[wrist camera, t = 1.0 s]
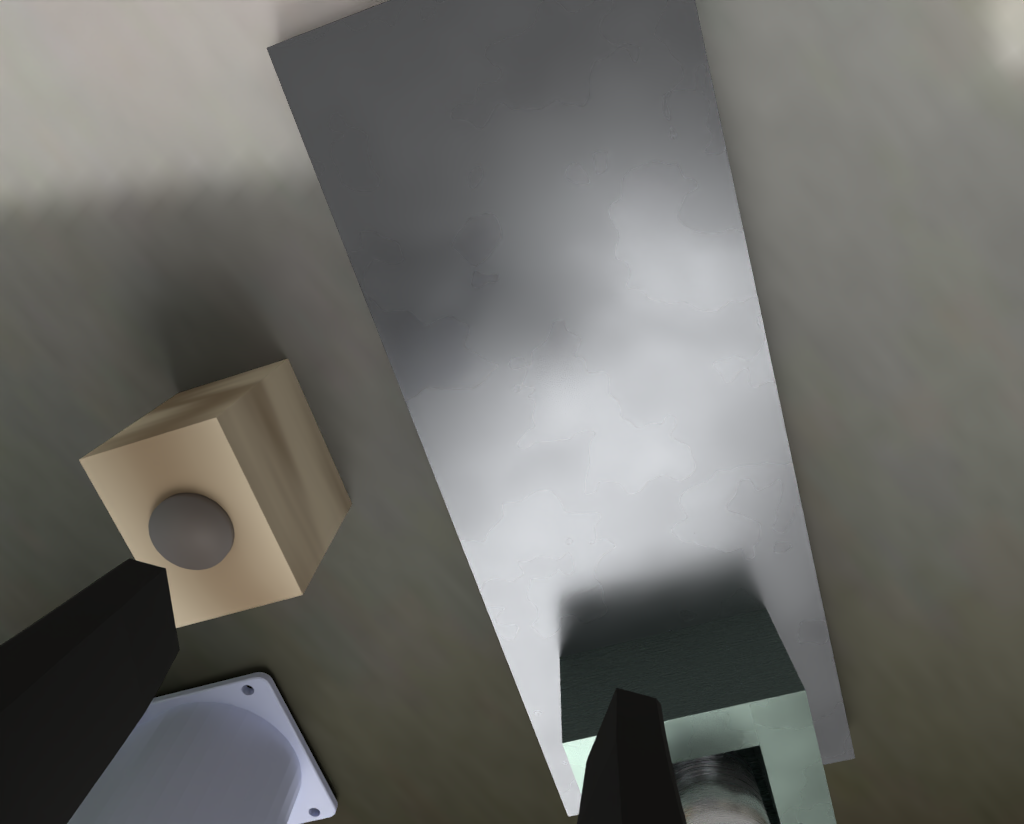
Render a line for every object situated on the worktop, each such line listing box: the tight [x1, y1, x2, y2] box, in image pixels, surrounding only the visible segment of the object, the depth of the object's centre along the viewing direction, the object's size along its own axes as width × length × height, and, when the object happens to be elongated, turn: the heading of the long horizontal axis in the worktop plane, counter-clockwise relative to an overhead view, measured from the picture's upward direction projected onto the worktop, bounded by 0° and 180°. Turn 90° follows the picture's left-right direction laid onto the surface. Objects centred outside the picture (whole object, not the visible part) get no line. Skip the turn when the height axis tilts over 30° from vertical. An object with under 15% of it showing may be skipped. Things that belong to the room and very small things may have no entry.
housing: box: [79, 359, 352, 628], centre depth 24 cm, size 4×6×6 cm
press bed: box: [267, 0, 855, 824], centre depth 24 cm, size 12×31×6 cm, turn 18°
